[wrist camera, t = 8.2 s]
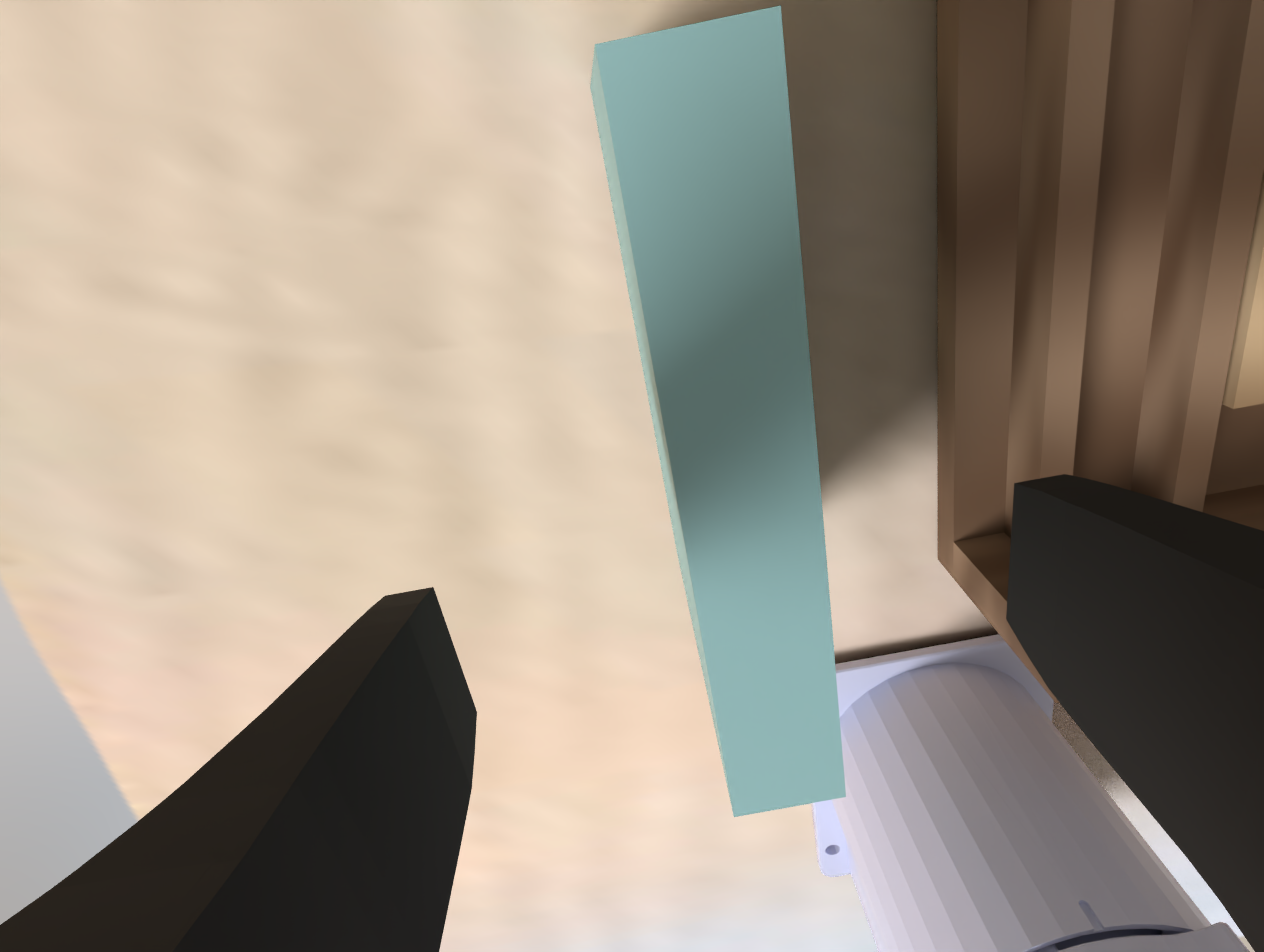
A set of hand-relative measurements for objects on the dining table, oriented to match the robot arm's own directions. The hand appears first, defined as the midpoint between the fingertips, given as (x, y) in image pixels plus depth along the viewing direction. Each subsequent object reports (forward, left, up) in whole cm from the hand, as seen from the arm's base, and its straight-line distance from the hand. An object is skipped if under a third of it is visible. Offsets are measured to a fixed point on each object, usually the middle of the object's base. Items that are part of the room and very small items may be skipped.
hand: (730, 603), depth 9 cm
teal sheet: (0, -1, -10) cm, 11 cm away
